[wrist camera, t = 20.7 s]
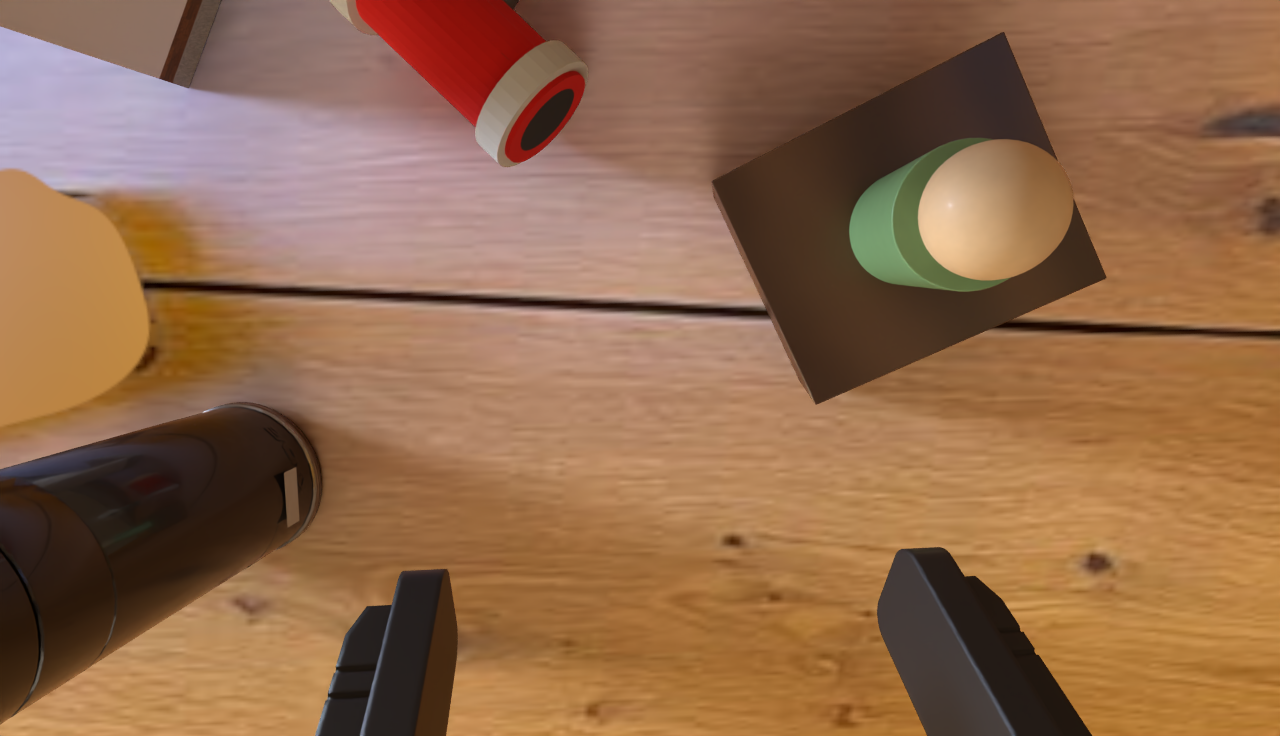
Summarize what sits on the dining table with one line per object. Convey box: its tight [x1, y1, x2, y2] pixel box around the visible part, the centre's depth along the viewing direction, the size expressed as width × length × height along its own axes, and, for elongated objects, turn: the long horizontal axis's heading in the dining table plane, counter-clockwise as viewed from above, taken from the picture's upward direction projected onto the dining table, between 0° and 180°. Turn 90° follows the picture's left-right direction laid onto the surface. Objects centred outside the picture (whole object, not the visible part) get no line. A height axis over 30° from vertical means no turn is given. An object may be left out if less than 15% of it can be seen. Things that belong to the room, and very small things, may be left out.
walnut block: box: [712, 32, 1106, 405], centre depth 32 cm, size 13×11×6 cm
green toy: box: [849, 138, 1073, 292], centre depth 23 cm, size 5×5×11 cm
